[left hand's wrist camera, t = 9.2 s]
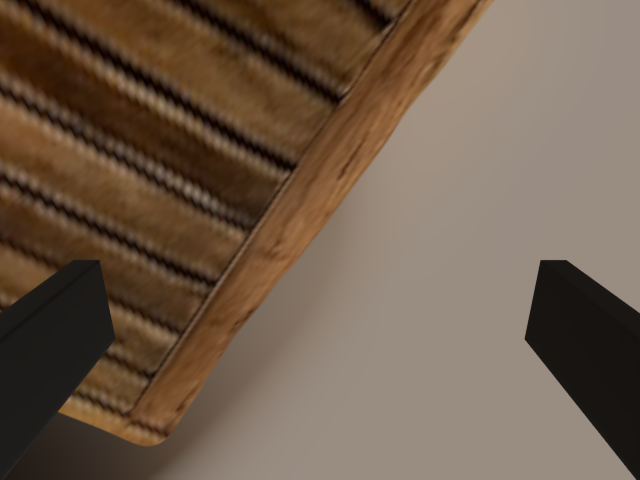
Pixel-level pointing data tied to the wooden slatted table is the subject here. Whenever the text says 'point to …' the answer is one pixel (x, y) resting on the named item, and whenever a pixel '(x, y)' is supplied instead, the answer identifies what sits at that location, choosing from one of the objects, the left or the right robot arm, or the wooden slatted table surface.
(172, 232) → the wooden slatted table surface
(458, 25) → the wooden slatted table surface
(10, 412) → the left robot arm
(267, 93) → the wooden slatted table surface
